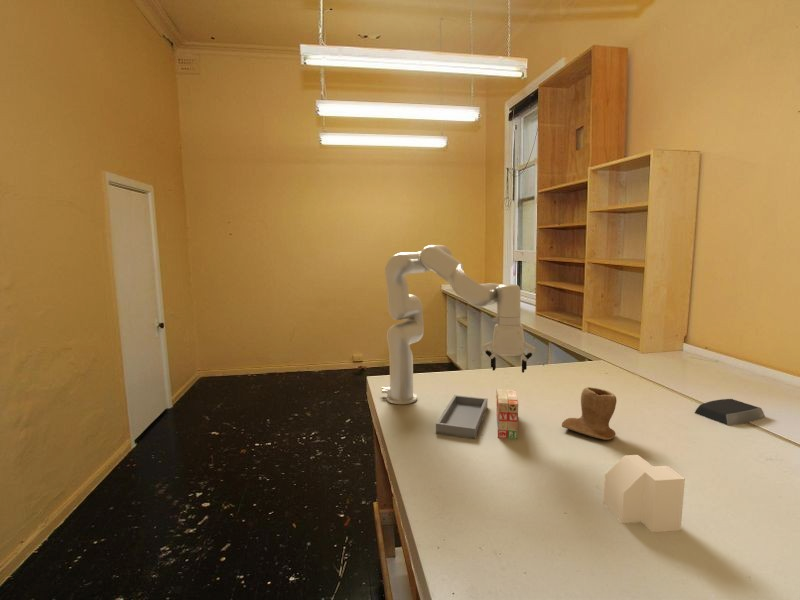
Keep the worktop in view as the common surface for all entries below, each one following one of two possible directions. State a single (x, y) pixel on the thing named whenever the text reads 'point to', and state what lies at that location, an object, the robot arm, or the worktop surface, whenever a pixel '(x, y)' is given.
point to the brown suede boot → (594, 414)
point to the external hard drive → (730, 411)
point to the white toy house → (645, 494)
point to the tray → (462, 417)
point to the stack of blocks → (507, 413)
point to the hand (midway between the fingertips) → (508, 370)
